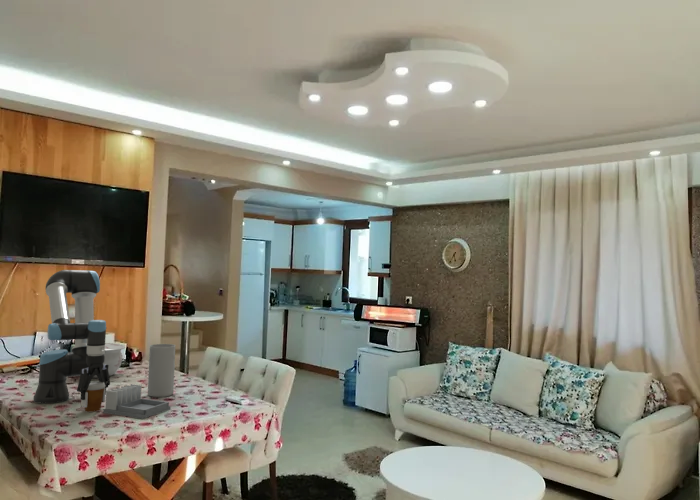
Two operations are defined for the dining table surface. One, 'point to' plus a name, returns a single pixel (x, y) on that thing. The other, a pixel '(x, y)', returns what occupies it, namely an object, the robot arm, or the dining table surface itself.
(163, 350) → the cylinder vase
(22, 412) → the dining table surface
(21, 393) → the dining table surface
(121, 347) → the chamber pot
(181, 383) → the dining table surface
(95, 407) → the disposable coffee cup
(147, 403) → the dish rack
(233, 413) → the dining table surface
